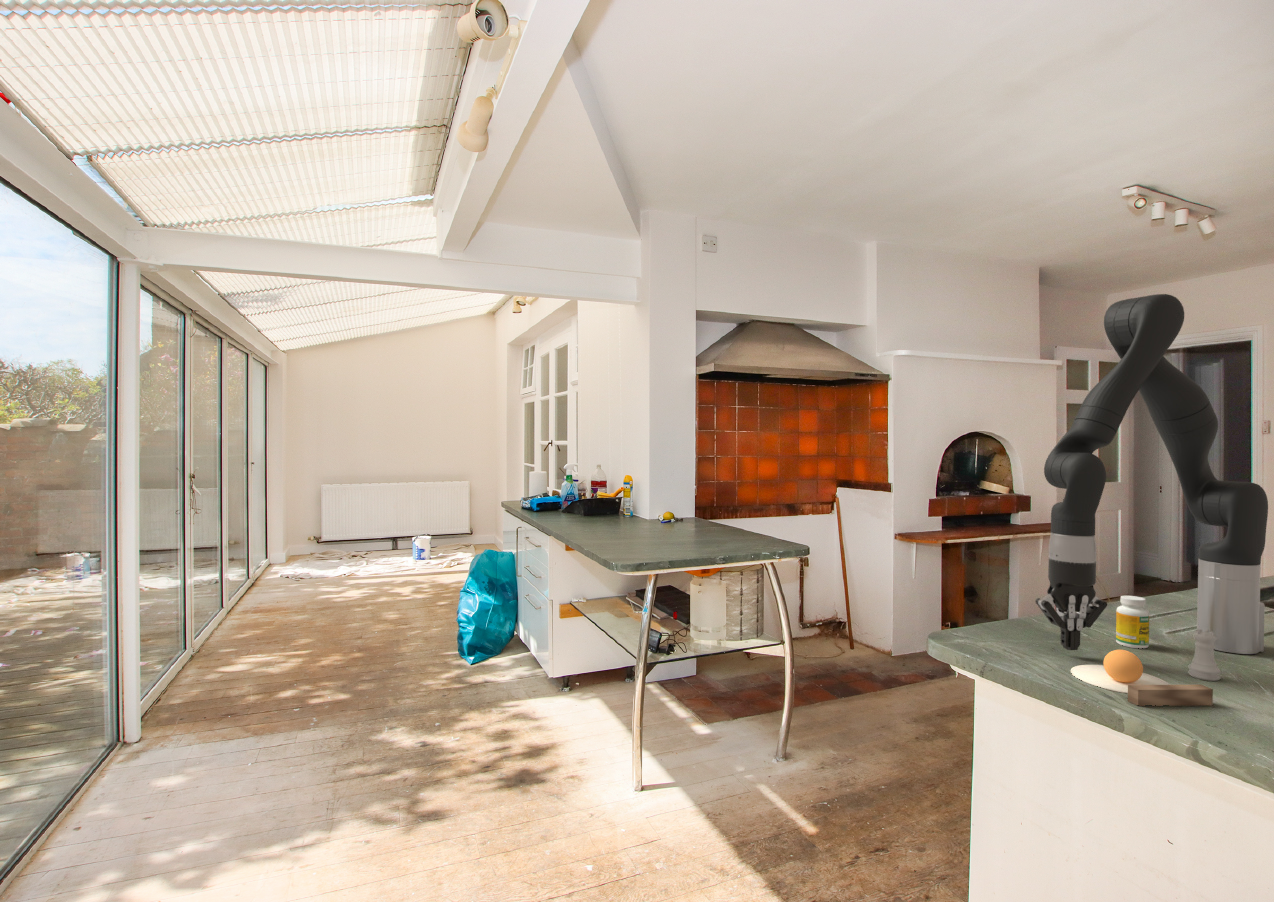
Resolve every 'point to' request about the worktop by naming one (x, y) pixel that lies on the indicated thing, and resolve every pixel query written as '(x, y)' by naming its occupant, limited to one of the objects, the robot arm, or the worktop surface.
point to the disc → (1102, 679)
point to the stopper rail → (1170, 695)
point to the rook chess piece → (1204, 657)
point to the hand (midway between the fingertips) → (1070, 648)
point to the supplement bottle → (1132, 623)
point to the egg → (1123, 666)
